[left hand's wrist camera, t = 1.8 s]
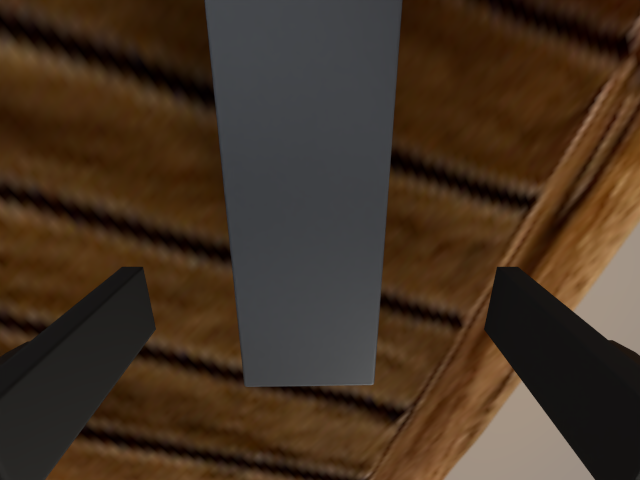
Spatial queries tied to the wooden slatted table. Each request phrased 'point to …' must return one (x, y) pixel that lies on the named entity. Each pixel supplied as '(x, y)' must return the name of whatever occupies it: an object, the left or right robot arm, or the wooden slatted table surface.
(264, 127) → the bar
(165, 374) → the wooden slatted table surface
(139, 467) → the wooden slatted table surface
